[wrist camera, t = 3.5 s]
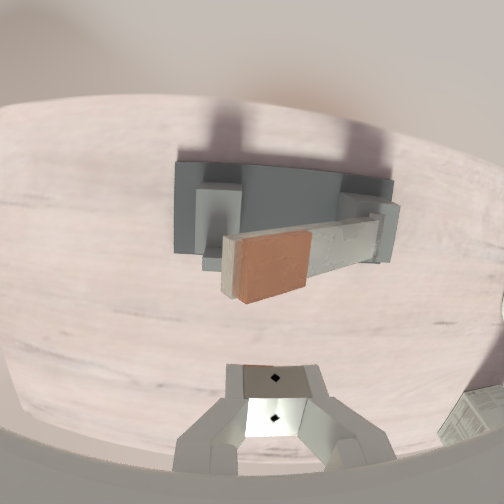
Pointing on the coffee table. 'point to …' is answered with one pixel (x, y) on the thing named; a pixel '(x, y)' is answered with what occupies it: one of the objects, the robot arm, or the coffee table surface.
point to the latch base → (269, 204)
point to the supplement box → (474, 414)
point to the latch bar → (295, 255)
